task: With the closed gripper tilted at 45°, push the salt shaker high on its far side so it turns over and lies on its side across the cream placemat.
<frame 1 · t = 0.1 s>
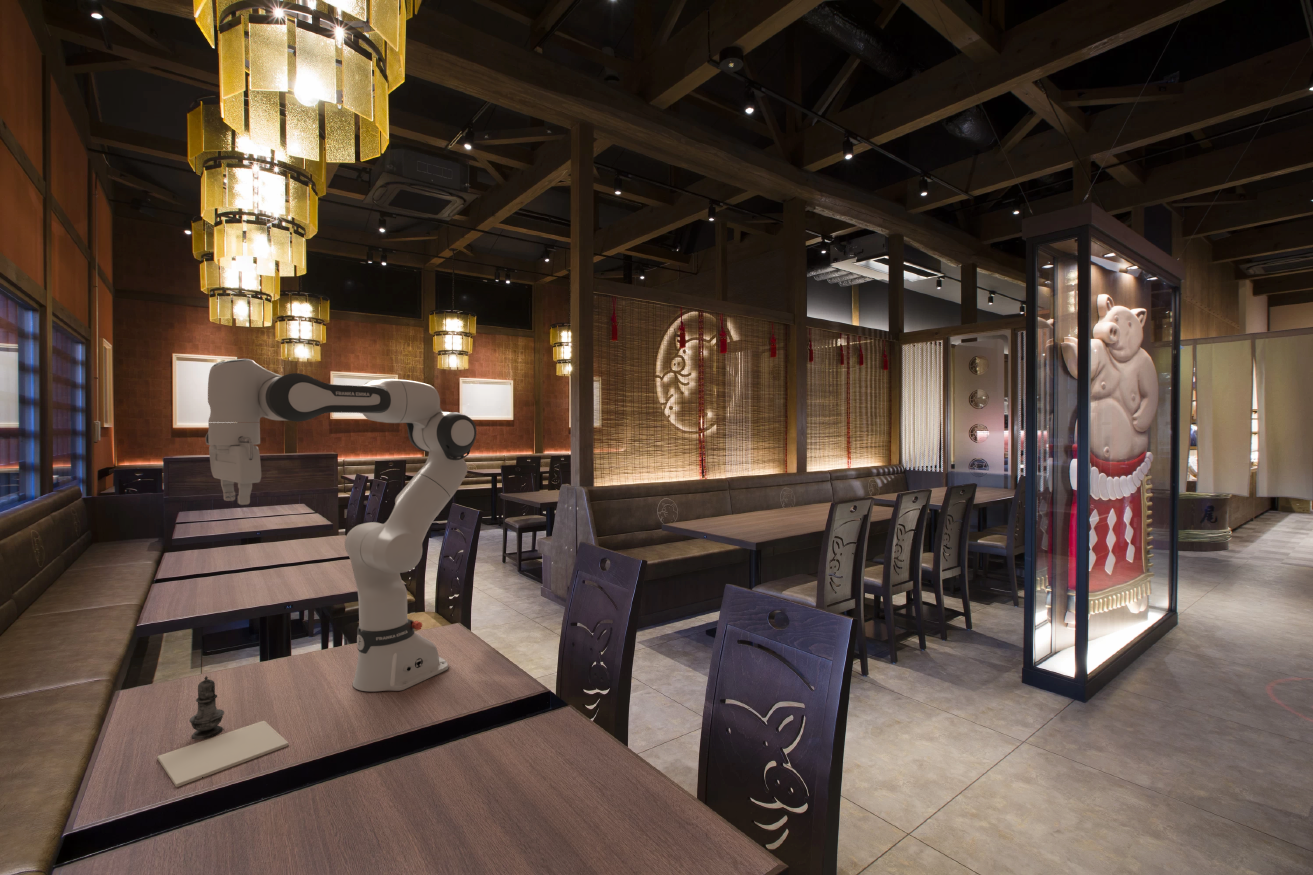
hand: (236, 502, 127), 48 cm above the table, tool pointing down, fingers open, 8 cm apart
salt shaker: (207, 733, 126), on the table
placemat: (224, 752, 119), on the table
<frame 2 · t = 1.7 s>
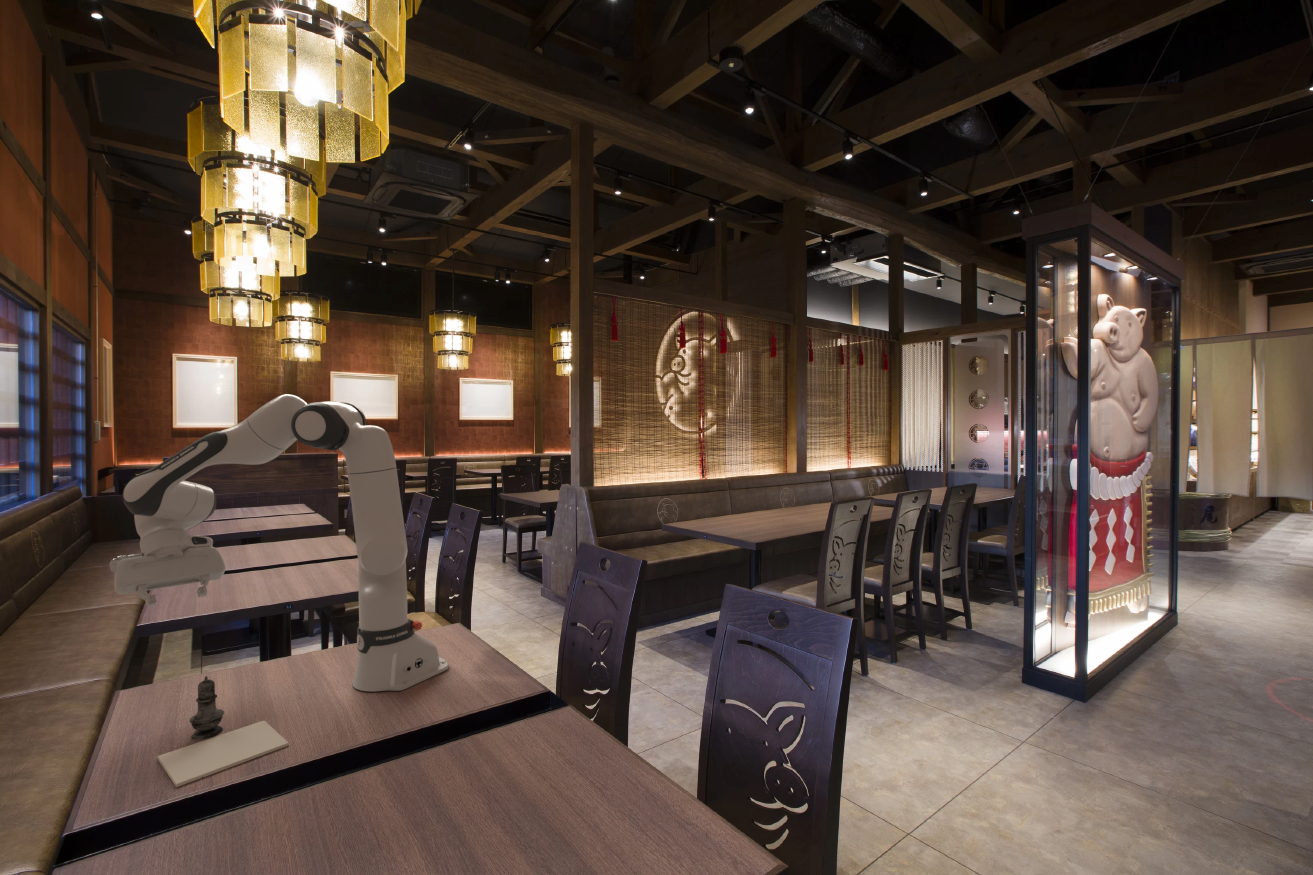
hand: (177, 599, 138), 24 cm above the table, tool tilted 45°, fingers open, 8 cm apart
nothing on the table moved.
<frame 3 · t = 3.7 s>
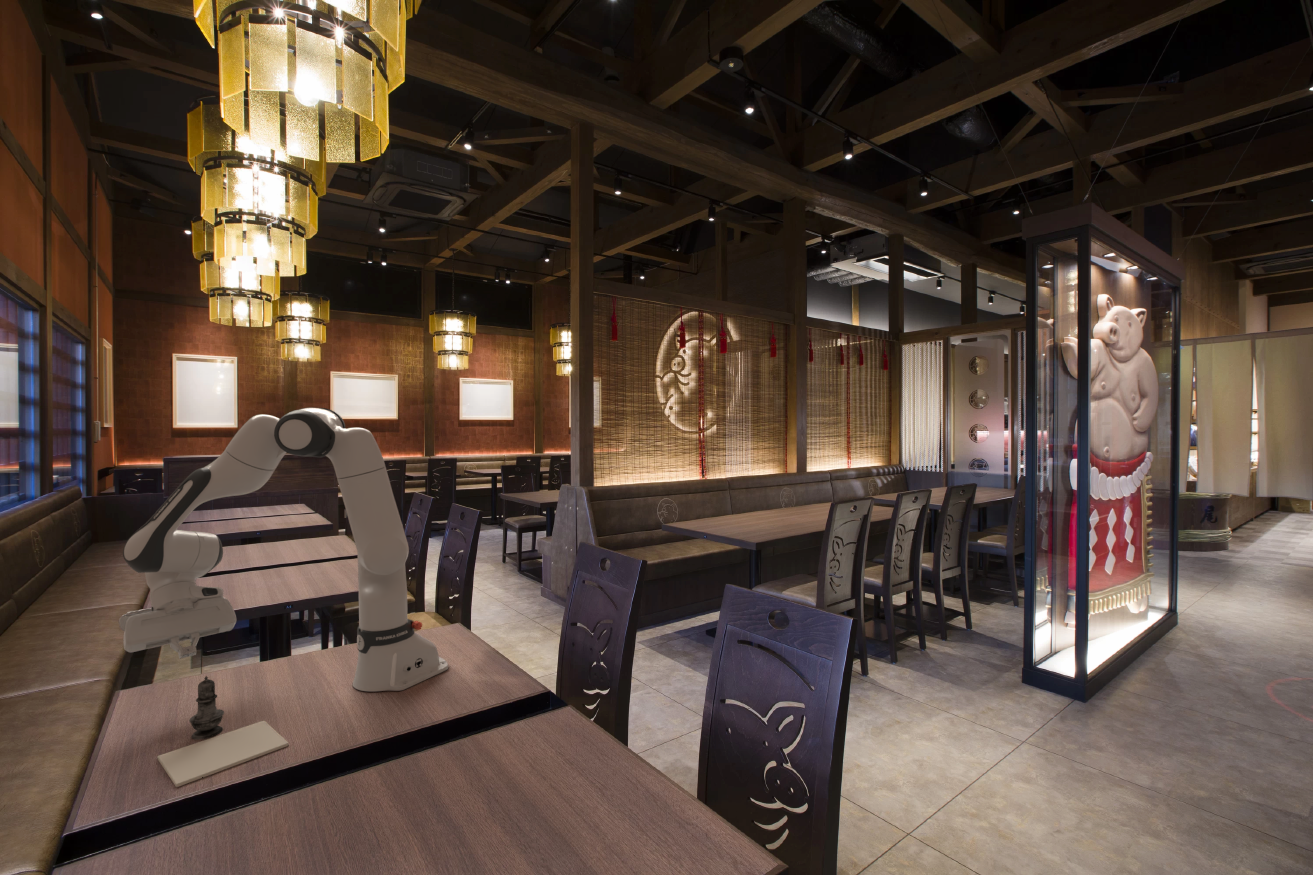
hand: (188, 655, 135), 13 cm above the table, tool tilted 45°, fingers closed
nothing on the table moved.
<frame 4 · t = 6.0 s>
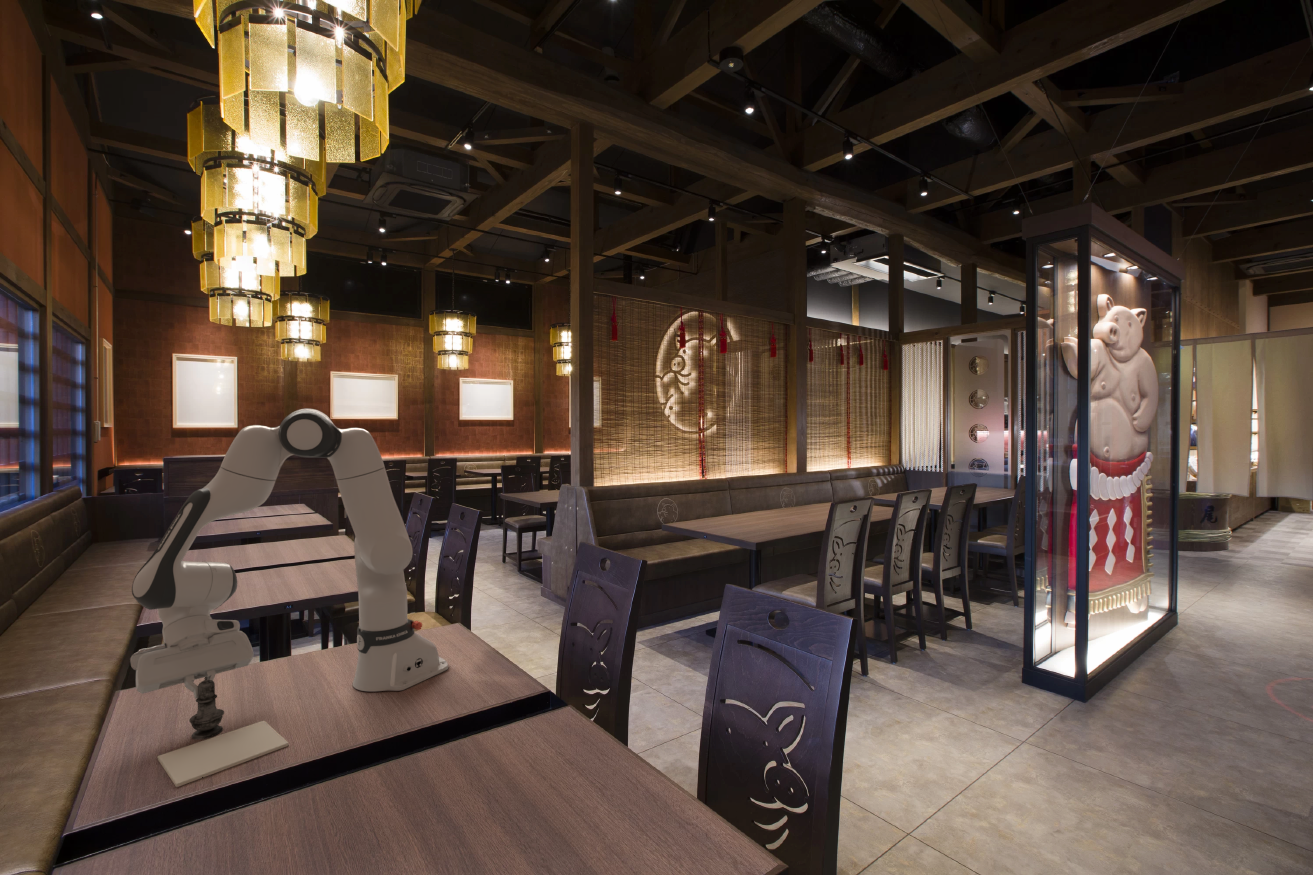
hand: (204, 695, 127), 7 cm above the table, tool tilted 45°, fingers closed, pressing on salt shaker
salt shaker: (207, 733, 126), on the table, touching gripper
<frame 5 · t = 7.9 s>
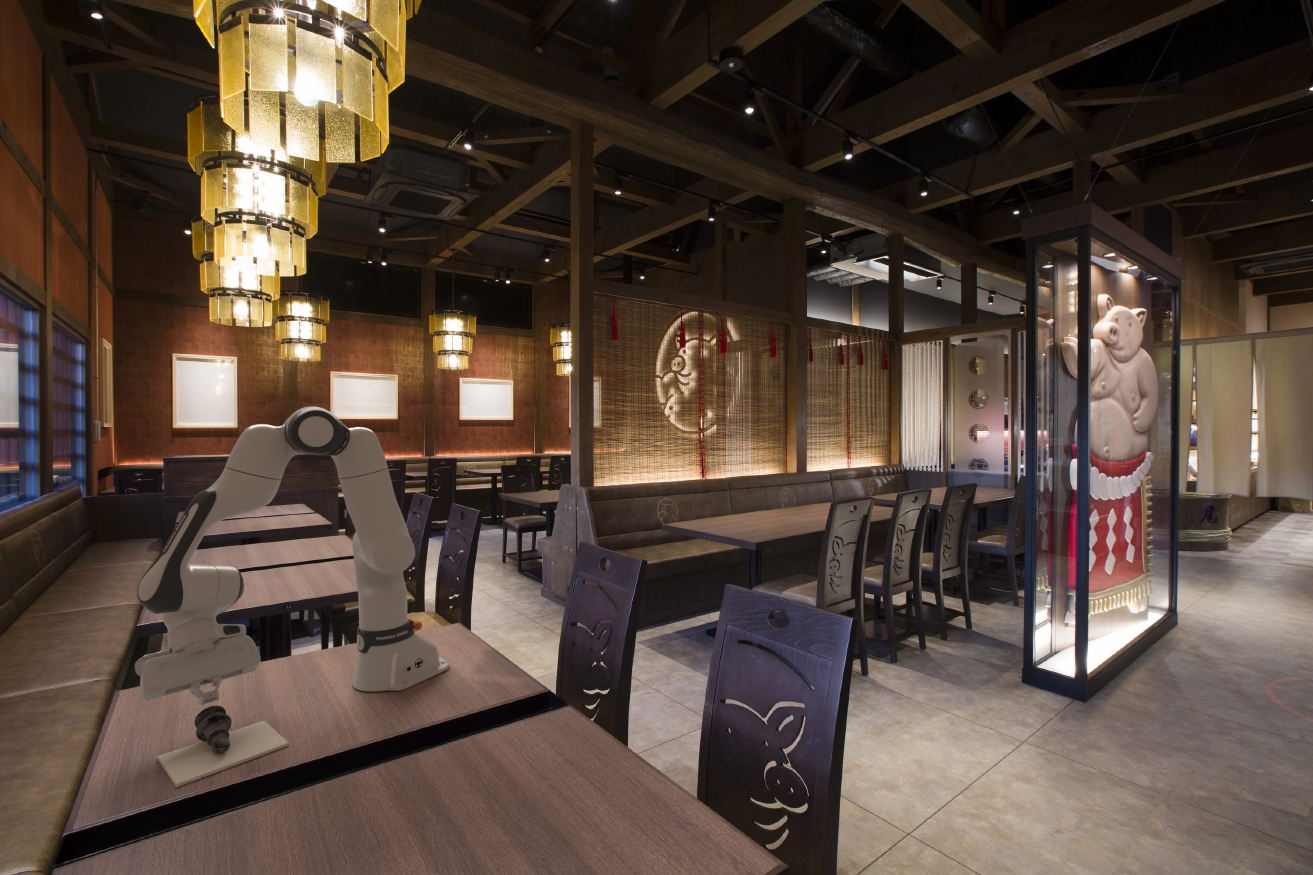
hand: (210, 701, 124), 7 cm above the table, tool tilted 45°, fingers closed
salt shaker: (210, 717, 124), point 4 cm above the table, touching placemat
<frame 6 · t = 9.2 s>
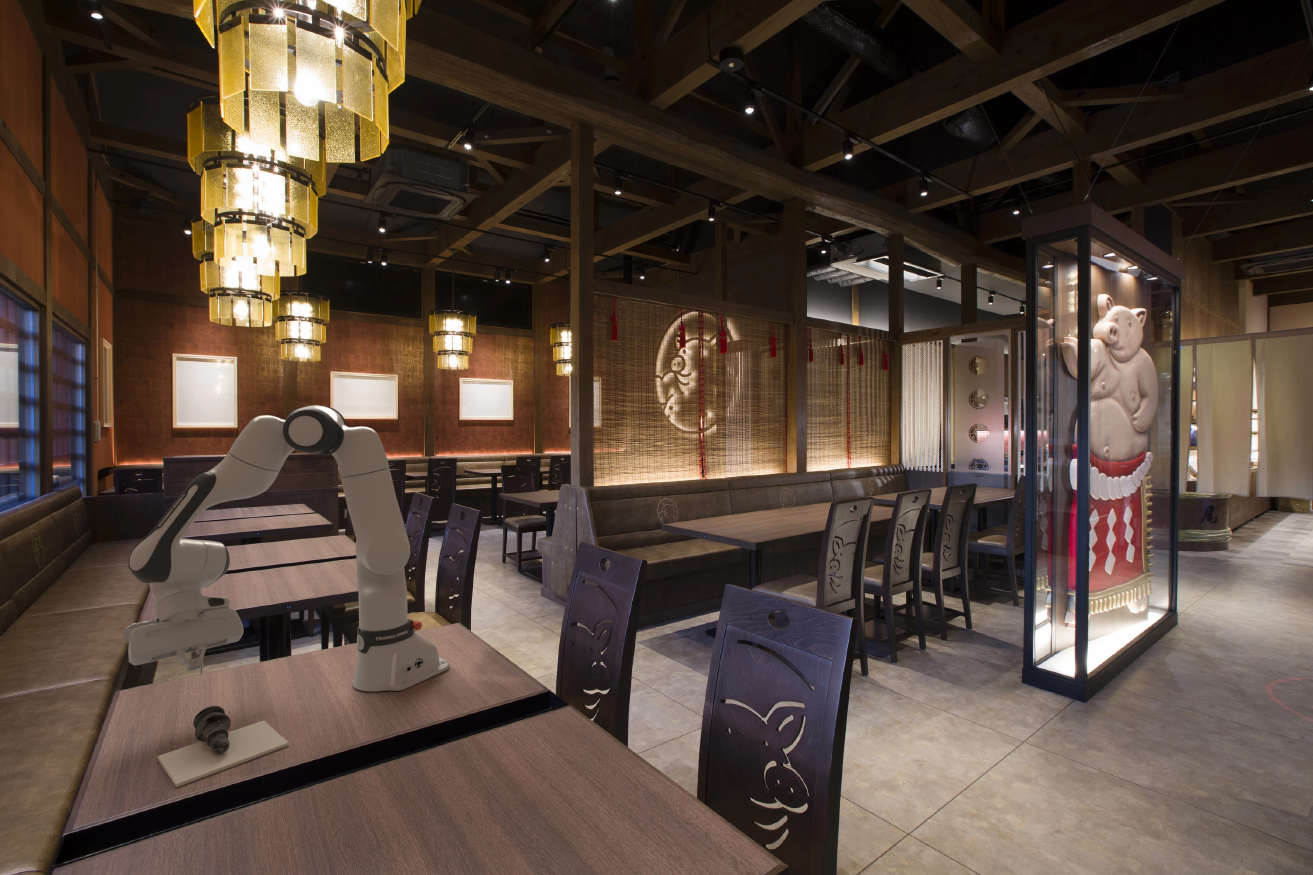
hand: (195, 668, 131), 11 cm above the table, tool tilted 45°, fingers closed
nothing on the table moved.
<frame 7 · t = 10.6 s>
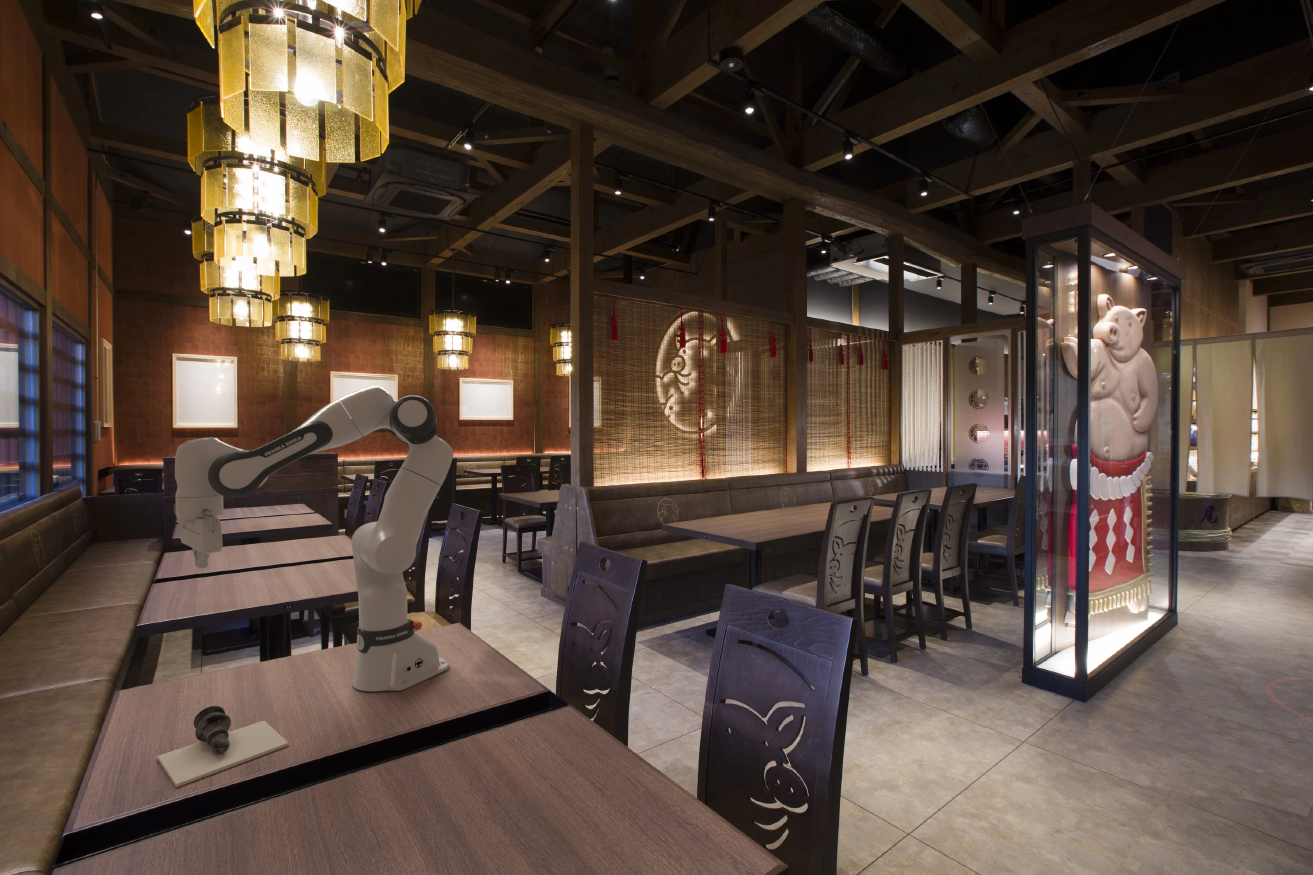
hand: (201, 567, 141), 31 cm above the table, tool pointing down, fingers closed
nothing on the table moved.
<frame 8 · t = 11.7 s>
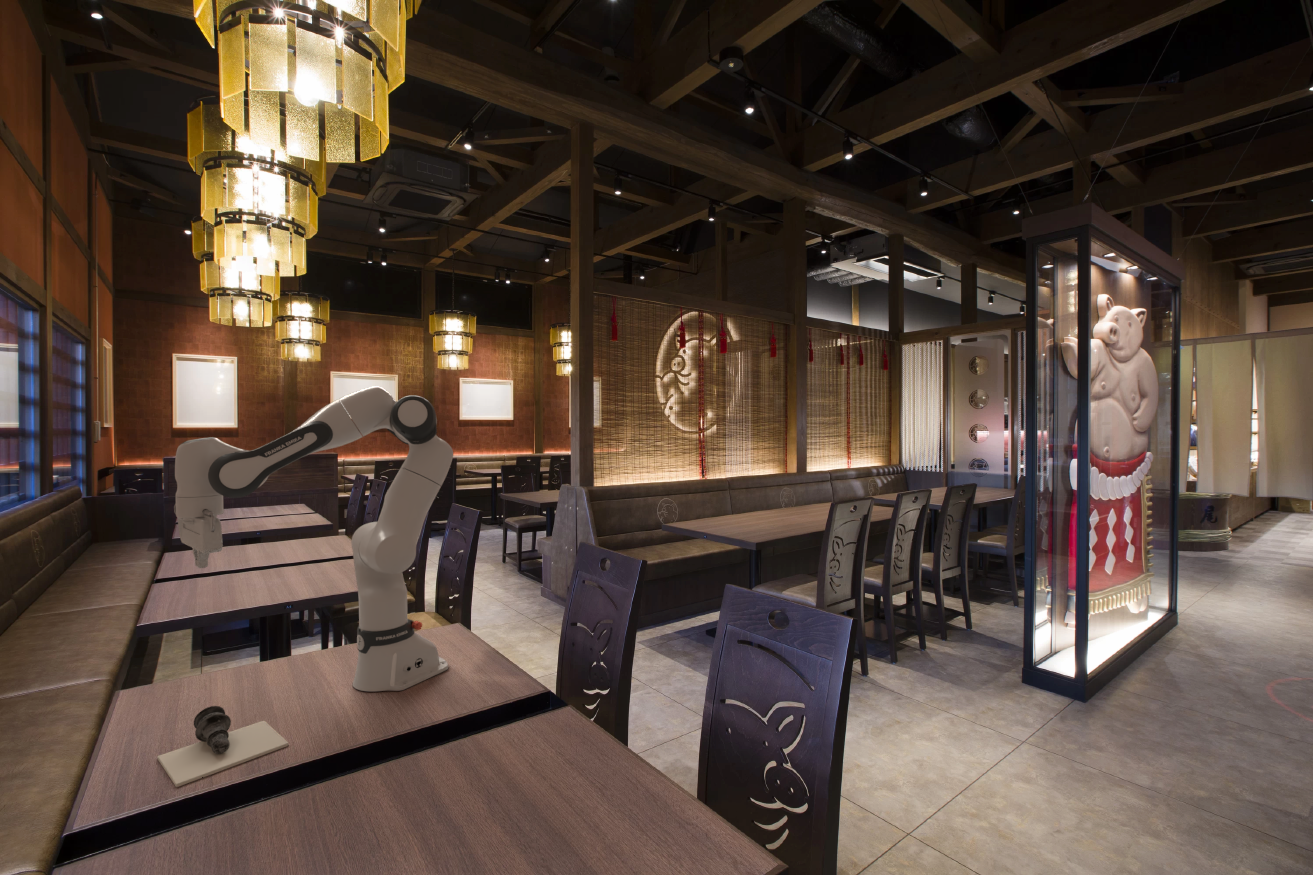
hand: (201, 566, 141), 31 cm above the table, tool pointing down, fingers closed
nothing on the table moved.
at the end: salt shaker tilted 103°; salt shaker touching placemat; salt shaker inside the target area (0.7 cm from its centre), point 4.3 cm above the table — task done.
